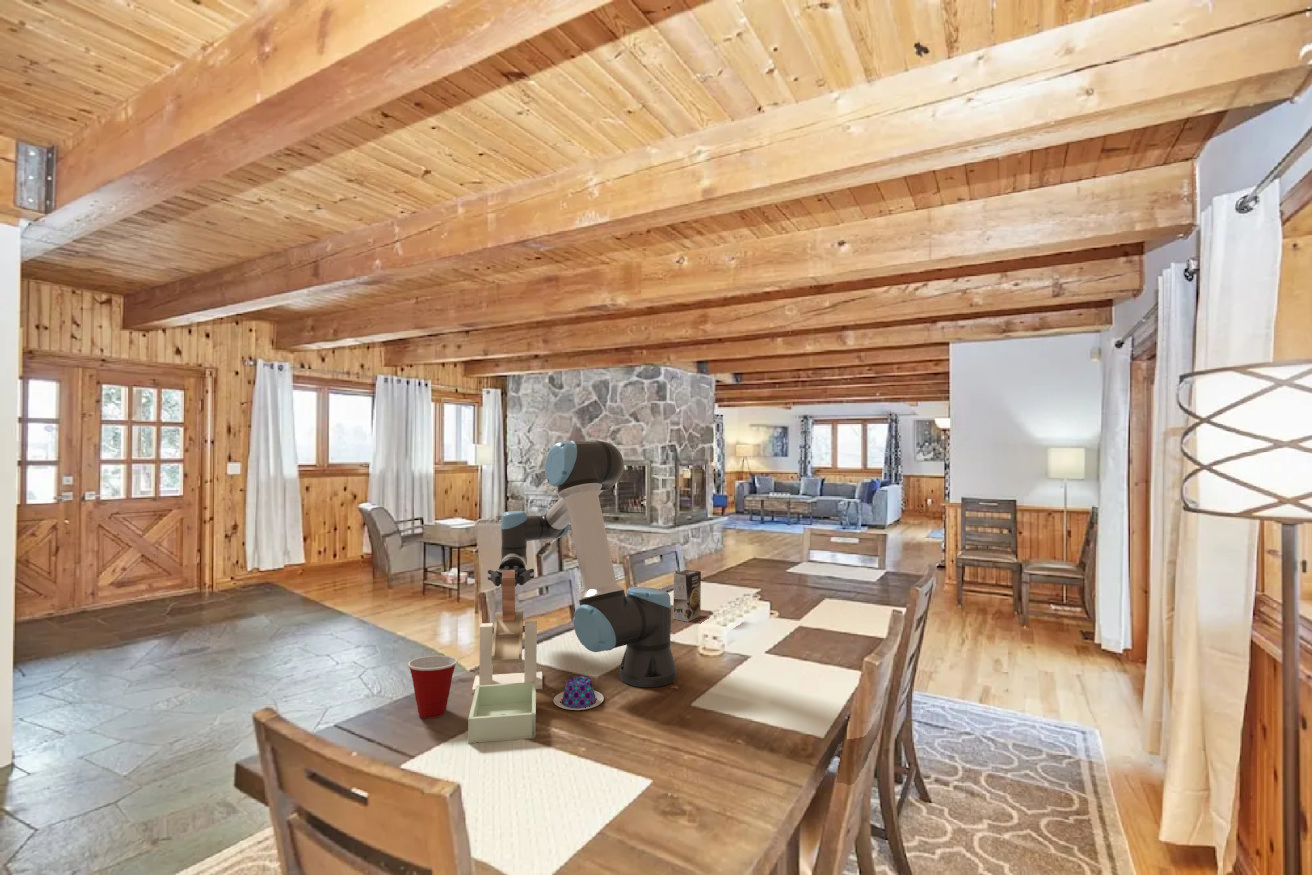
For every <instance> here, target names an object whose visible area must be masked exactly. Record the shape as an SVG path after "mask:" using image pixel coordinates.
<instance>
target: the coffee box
mask: <svg viewBox="0 0 1312 875" xmlns="http://www.w3.org/2000/svg"><path fill="white" fill-rule="evenodd" d="M701 585H702V571H700V570H691V569H685V570H682V571H678V572H674V573H673V601H672V602H673V609H672V610H673V612H672V614H673V615H672V619H673V620H676V621H681V622H686V623H688V622H691V621H693V620H695V619H697V618H699V617H701V610H702V609H701V607H702V606H701V604H702V603H701V601H702V600H701V598H702V597H701V595H702V594H701V592H702V591H701V590H702V589H701V588H702V586H701Z"/></svg>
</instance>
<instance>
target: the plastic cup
mask: <svg viewBox="0 0 1312 875" xmlns="http://www.w3.org/2000/svg"><path fill="white" fill-rule="evenodd" d="M458 662H459V659H458V658H456V657H455V656H451V655H450V656H449V655H427V656H423V657H417V658H414V659H412V660H410V661H408V663H407V666H408V669H409V670H410V673H411V679H412V684H413V691H414V697H415V702H416V707H417V708H416V709H417V712H418V715H419V718H423V719H434V718H438V717H441V716H443V715H444V714H445V713H446V710H447V706H448V700H449V696H450V690H451V686H452V679H453V674H454V672H455V668H456V665H457V663H458Z"/></svg>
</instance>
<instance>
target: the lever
mask: <svg viewBox="0 0 1312 875" xmlns="http://www.w3.org/2000/svg"><path fill="white" fill-rule="evenodd" d="M501 599H502V600H501V602H502V608H501V610H502V611H501V612H497V611H495V614H494V615H495V616H494V622H493V627H494V633H493V645H492V658H491V664H493V665H497V664H515V663H523V660H522V659H523V638H524V637H523V636H524V635H523V633H524V632H523V626H524V611H523V610H521V611H516V587H515V570H502V587H501Z"/></svg>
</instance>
